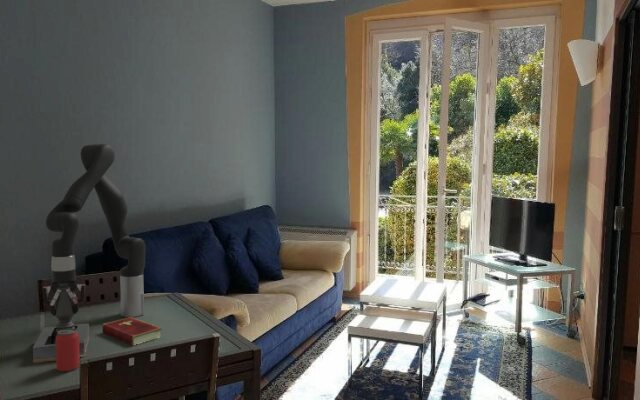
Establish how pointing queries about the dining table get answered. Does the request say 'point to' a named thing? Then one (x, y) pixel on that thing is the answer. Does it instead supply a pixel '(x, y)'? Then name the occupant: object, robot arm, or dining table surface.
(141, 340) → the hardcover book
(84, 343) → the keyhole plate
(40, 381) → the dining table surface
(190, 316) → the dining table surface
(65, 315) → the candle holder
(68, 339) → the beer can
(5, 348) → the dining table surface
